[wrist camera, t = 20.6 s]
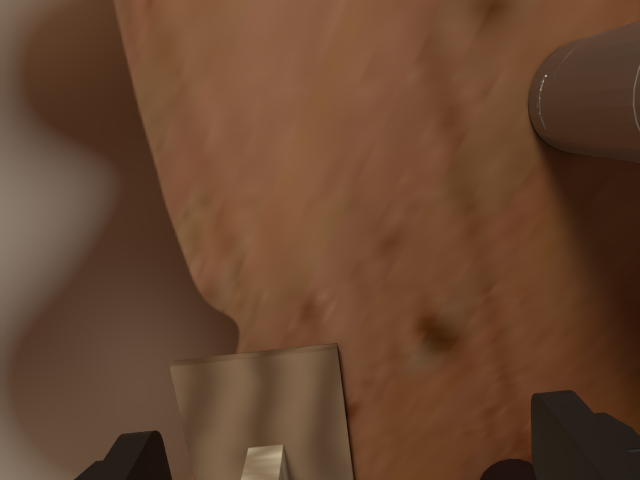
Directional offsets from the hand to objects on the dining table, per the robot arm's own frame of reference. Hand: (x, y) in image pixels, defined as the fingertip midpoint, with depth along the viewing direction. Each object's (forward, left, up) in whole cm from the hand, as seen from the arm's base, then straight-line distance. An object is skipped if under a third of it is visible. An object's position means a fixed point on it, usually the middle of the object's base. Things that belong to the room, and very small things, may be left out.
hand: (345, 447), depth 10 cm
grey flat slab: (+9, +23, -33) cm, 41 cm away
